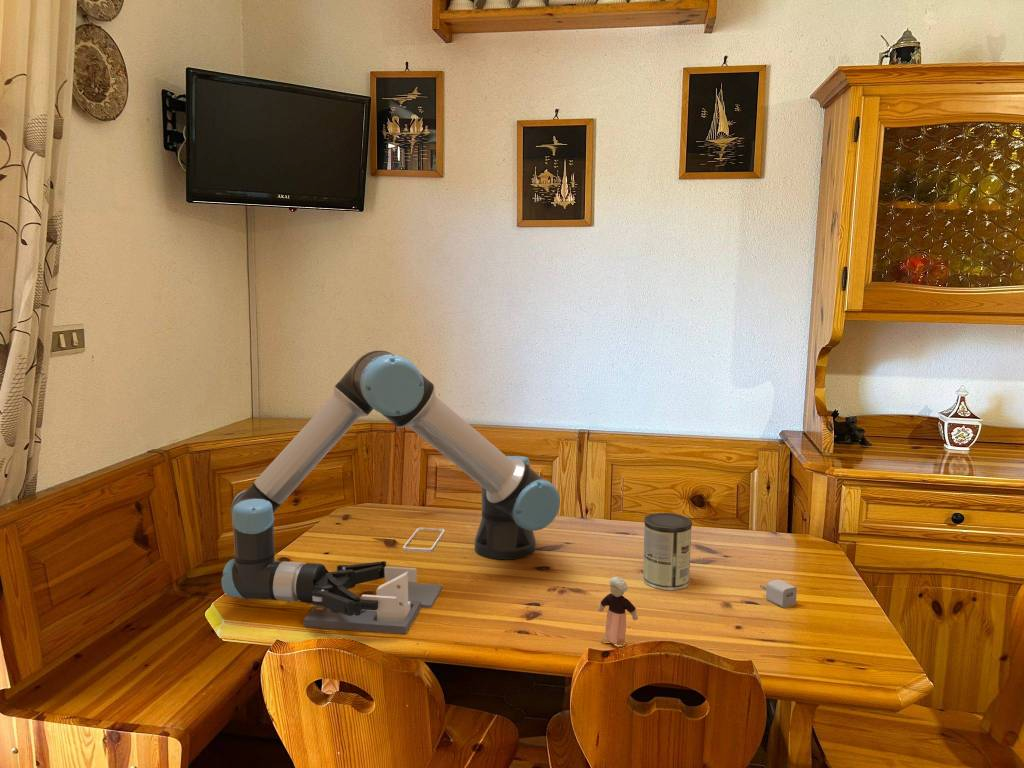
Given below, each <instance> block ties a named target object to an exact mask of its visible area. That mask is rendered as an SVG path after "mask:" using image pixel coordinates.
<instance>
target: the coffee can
mask: <svg viewBox="0 0 1024 768" xmlns="http://www.w3.org/2000/svg"><path fill="white" fill-rule="evenodd" d="M643 522H644V523H643V524H644V526H643V527H644V530H643V532H644V533H643V534H644V535H643V570H642V571H643V573H642V581H643V583H644V584H645V585H647V586H649V587H650V588H653V587H654V589H657V590H661V589H662V590H663V591H679V589H680V590H683V589H685V588H687V587H688V586H689V585H690V572H691V571H690V570H691V569H690V567H691V566H690V565H691V545H692V541H691V539H692V526H693V521H692V519H690V517H687V516H684V515H682V514H678V513H672V512H655V513H651V514H648V515H645V517H644V519H643Z"/></svg>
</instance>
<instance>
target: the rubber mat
mask: <svg viewBox="0 0 1024 768" xmlns="http://www.w3.org/2000/svg"><path fill="white" fill-rule="evenodd" d="M443 587H444V586H443V584H437V583H435V584H434V583H432V584H431V583H422V582H421V583H418V582H408V600H409V601H421V608H424V609H425V608H428V609H432V608H433V606H434V603H435V602H436V600H437V598H438V596H439V595H440V593H441V591H442V589H443Z"/></svg>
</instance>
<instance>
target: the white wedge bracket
mask: <svg viewBox="0 0 1024 768" xmlns="http://www.w3.org/2000/svg"><path fill="white" fill-rule="evenodd" d="M408 583H409V582H408V571H407V572H406V573H404V574H402V575H400V576H398V577H396V578H394V579H392V580H390V581H386V582H384V583H383V584H380V585H379V586H378V587H377V589H375V590H376V591H375V595H378V596H393V597H397V612H383V611H377V621H387V622H401V623H403V622H404V620H405V618H406V617H407V615H408V613H409V612H410V610H411V601H408Z"/></svg>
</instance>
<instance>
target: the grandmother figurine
mask: <svg viewBox="0 0 1024 768" xmlns="http://www.w3.org/2000/svg"><path fill="white" fill-rule="evenodd" d="M609 586H610V589H609V590H610V593H608V594H606V596H605V597H603V599H602V600H600V604H599V606H598V608H597V611H598V612H600V613H603V612H604V609H605V608H606V607H608V608H607V611H606V622H605V634H604V635H605V636H603V637H602V638H601V639H600V642H601V641H603V642H611V643H610V644H613V645H614V644H617V645H622V646H619V647H622V648H624V647H625V646H626V643H625V642H626V640H625V639H626V632H627V613H626V611H627V612H628V613H629V614H630V615H631V617H632V618H631V619H632V620H633V621H637V620H638V619H639V616H638V614H637V611H636V609H637V608H636V606H635V605H634V604H633V603H632V602H631V601H630V600H629V599H628V598H627V597H625V596H624V594H625V592H627V591H628V589H630V588H629V586H628V584H627V582H626V581H625V580H624V579H623V578H622V577H621V576H613V577H611V578H610V580H609ZM624 643H625V645H624ZM623 646H624V647H623ZM619 647H618V648H619Z"/></svg>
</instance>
